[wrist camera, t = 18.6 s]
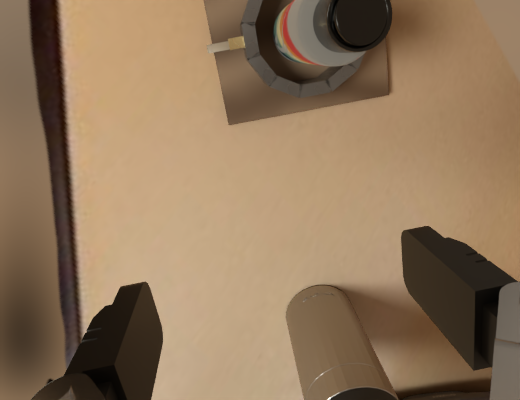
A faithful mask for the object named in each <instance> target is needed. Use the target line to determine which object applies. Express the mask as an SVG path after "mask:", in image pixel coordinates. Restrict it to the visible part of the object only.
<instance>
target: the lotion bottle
mask: <svg viewBox="0 0 520 400" xmlns="http://www.w3.org/2000/svg"><path fill="white" fill-rule="evenodd" d="M391 21H392V8H391V3H390V0H294V1H292V2H291V3H290V4H289V5H287V6H286V7H285V8H284V9H283V10H282V11H281V12H280V13H279V15H278V17H277V18H276V21H275V24H274V28H273V39H274V43H275V46H276V48H277V49H278V51H279V52H280V53H281V55H283V56H284V57H285V58H286V59H288V60H290V61H293V62H298V63H305V64H313V65H322V66H343V65H347V64H349V63H352V62H353V61H355V60H357V59H358V58H360V57H361V56H362V55H363V54H364V53H365V52H366V51H367V50H370V49H372V48H374V47H376V46H377V45H378V44H379V43H381V42H382V40H383V39H384V38H385V37H386V35H387V33H388V31H389V29H390V26H391Z"/></svg>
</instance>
